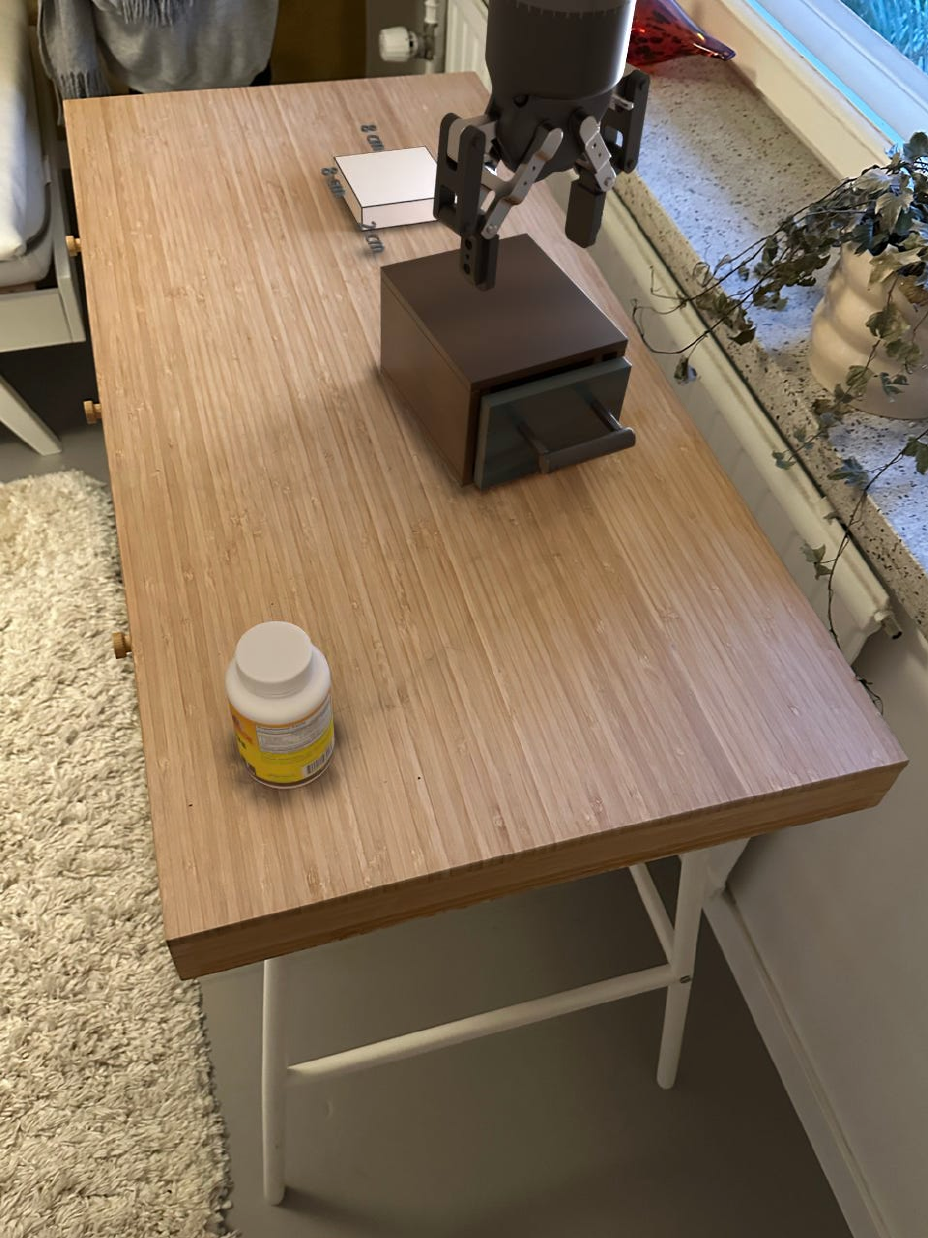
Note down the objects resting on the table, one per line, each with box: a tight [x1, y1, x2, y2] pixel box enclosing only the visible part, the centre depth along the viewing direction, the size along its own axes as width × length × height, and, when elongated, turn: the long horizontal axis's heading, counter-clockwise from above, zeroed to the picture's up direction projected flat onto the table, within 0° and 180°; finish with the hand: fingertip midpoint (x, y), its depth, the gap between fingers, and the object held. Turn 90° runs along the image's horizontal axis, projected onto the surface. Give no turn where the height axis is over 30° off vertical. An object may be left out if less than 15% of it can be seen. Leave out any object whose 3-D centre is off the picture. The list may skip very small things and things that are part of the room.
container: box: [321, 124, 457, 255], centre depth 98 cm, size 20×12×3 cm, turn 20°
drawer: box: [473, 355, 637, 492], centre depth 75 cm, size 18×11×8 cm, turn 27°
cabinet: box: [379, 232, 629, 488], centre depth 77 cm, size 15×13×10 cm
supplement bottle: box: [224, 620, 336, 790], centre depth 56 cm, size 6×6×10 cm
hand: (530, 262), depth 64 cm, fingers open, 8 cm apart
